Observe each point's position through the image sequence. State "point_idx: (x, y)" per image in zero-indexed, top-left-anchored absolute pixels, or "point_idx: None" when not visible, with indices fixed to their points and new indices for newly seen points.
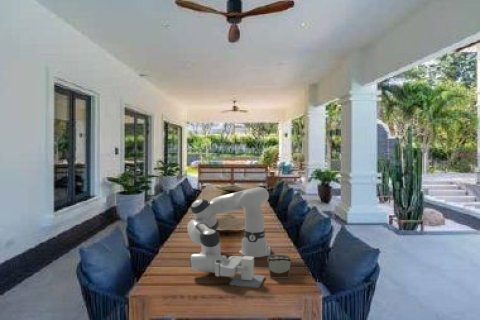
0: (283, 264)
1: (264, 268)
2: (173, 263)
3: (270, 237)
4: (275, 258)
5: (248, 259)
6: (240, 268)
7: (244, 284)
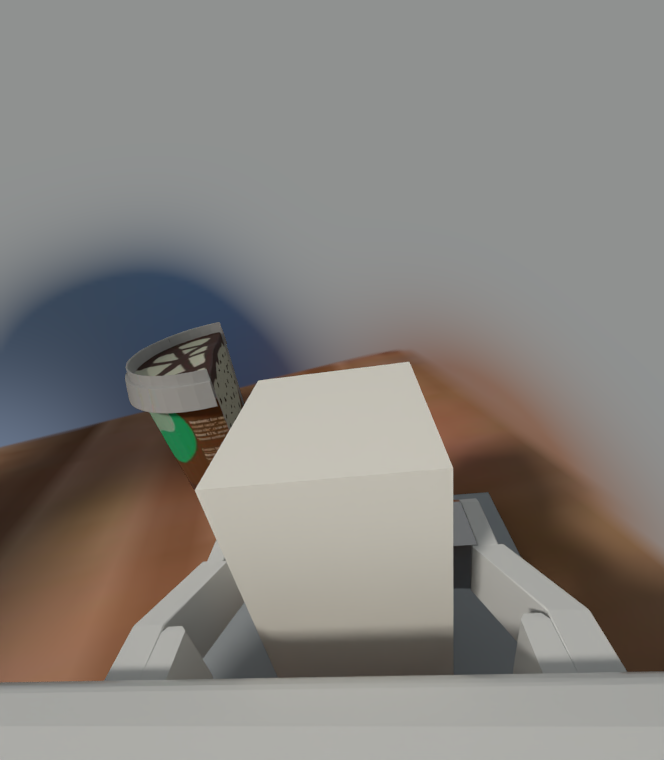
0: (228, 374)
1: (17, 583)
2: None
3: None
4: (188, 366)
5: (416, 384)
6: (545, 593)
7: None
